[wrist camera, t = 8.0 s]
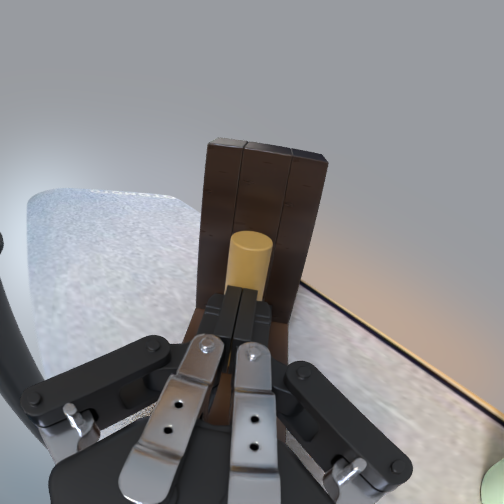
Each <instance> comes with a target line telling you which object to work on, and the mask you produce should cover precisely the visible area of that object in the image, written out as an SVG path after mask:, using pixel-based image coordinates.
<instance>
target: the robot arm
mask: <svg viewBox="0 0 504 504" xmlns="http://www.w3.org/2000/svg"><path fill="white" fill-rule="evenodd" d="M241 293H242V297H241ZM257 294H258V290H254V289H248V288H243V292H242V287H237V286H231V285H227V289H226V292H225V295H223V294H218V293H215V294H214V295H212V296H211V297H210V298H209V299H208V302H207V305H206V308H205V311H204V314H203V316H202V319H201V322H200V325H199V328H198V331H197V334H196V336H195V337H194V338H193V339H192V340H190V341H188V342H186V343H182V344H169V342H168V341H167V340H166V339H165V338H163V337H161V336H157V335H150V336H146V337H144V338H141V339H139V340H137V341H135V342H133V343H130V344H128V345H126V346H124V347H121V348H119V349H117V350H115V351H112V352H110V353H108V354H106V355H103V356H101V357H99V358H97V359H94V360H92V361H90V362H87V363H85V364H83V365H80V366H78V367H76V368H73V369H71V370H69V371H66V372H64V373H62V374H59V375H57V376H54V377H52V378H50V379H47V380H45V381H42V382H40V383H38V384H35V385H33V386H30V387H28V388H27V389H25V390H24V391H23V393H22V395H21V397H20V405H21V408H22V409H23V411H24V412H25V413H26V415H27V416H28V417H29V418H30V420H31V421H32V422H33V423H34V425H35V426H36V427H37V428H38V429H39V431H40V434H41V436H42V438H43V440H44V442H45V444H46V447H47V449H48V451H49V453H50V455H51V457H52V459H53V460H54V462H55V467H54V468H53V469H52V471H51V474H50V477H49V485H48V486H49V493H50V500H51V504H375V503H376V502H377V501H378V500H379V499H380V498H381V497H383V496H385V495H386V494H388V493H390V492H392V491H393V490H395V489H396V488H397V487H398V486H400V485H401V484H403V483H404V482H406V481H407V480H408V479H409V478H410V477H411V475H412V471H413V466H412V462H411V460H410V459H409V458H408V457H407V456H406V455H405V454H404V453H403V452H402V451H401V450H400V449H399V448H398V447H397V446H396V445H394V444H393V443H392V442H391V441H390V440H389V439H388V438H387V437H386V436H385V435H384V434H383V433H382V432H381V431H380V430H379V429H378V428H377V427H376V426H375V425H374V424H372V423H371V422H370V421H369V420H368V419H367V418H366V417H365V416H364V415H363V414H362V413H361V412H360V411H359V410H358V409H357V408H356V407H355V406H354V405H353V404H352V403H351V402H350V401H349V400H348V399H347V398H346V397H345V396H344V395H343V394H342V393H341V392H340V391H339V390H338V389H337V388H336V387H335V386H334V385H333V384H332V383H331V382H330V381H329V380H328V379H327V378H326V377H325V376H324V375H323V374H322V373H321V372H320V371H319V370H318V369H317V368H316V367H315V366H314V365H312V364H311V363H308V362H305V361H296V362H293V363H291V364H290V365H286V364H284V363H281V362H279V361H277V360H276V359H274V358H273V357H272V356H271V354H270V351H269V349H268V341H269V328H270V314H271V309H270V307H269V305H268V303H267V302H263V301H257ZM240 300H241V302H240ZM239 306H240V307H239ZM230 353H231V355H230ZM229 358H230V362H229ZM228 363H229V369H228V374H232V376H231V382H230V384H231V393H230V405H229V417H228V425H212V424H210V423H208V420H209V417H210V414H211V411H212V408H213V404H214V401H215V398H216V395H217V392H218V389H219V385H220V377H221V373H227V368H228ZM155 402H157V403H156V405H155V407H154V409H153V411H152V413H151V416H147V417H143V418H141V419H138V420H136V421H134V422H132V423H131V424H129V425H127V426H125V427H124V428H122V429H120V430H118V431H117V432H115V433H113V434H111V435H109V436H108V437H106V438H104V439H102V440H100V441H98V440H99V438H100V431H101V430H103V429H105V428H107V427H109V426H111V425H113V424H115V423H117V422H119V421H121V420H123V419H125V418H127V417H129V416H131V415H133V414H135V413H136V412H138V411H140V410H142V409H144V408H146V407H148V406H150V405H151V404H153V403H155ZM276 416H277V417H278V419H279V420H280V421H281V422H282V423H283V425H284V426H285V427H286V428H287V429H288V431H289V432H290V433H291V434H292V435H293V437H294V438H295V439H296V440H297V441H298V442H299V444H300V445H301V446H302V447H303V448H304V449H305V450H306V452H307V453H308V454H309V455H310V456H311V457H312V458H313V459H314V461H315V462H316V463H317V464H318V465H319V466H320V467H321V468H322V469H323V470H324V472H325V474H324V476H323V485H324V488H325V489H326V491H327V492H328V494H327V492H326V491H325V490H324V489H323V488H322V487H321V485H320V484H319V483H318V482H317V481H316V479H315V478H314V477H313V476H312V475H311V473H310V472H309V471H308V470H307V469H306V467H305V466H304V465H303V464H302V462H301V461H300V460H299V459H298V457H297V456H296V455H295V454H294V452H293V451H292V450H291V449H290V448H289V447H288V446H287V445H286V444H285V443H283V442H282V441H280V440H279V439H277V426H276ZM97 441H98V442H97Z"/></svg>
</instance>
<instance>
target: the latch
mask: <svg viewBox="0 0 504 504" xmlns="http://www.w3.org/2000/svg"><path fill="white" fill-rule="evenodd" d="M327 168H328V161H327V160H326V159H325V158H324V157H323V155H322V154H318V153H313V152H308V151H303V150H298V149H293V148H292V149H290V148H287V147H281V146H275V145H269V144H262V143H256V142H248V141H242V140H235V139H227V138H217V139H215V140H213V141H211V142H209V143H208V145H207V154H206V164H205V175H204V185H203V198H202V209H201V222H200V236H199V251H198V269H197V290H196V309H195V311H194V314H193V316H192V319H191V322H190V324H189V327H188V329H187V332H186V334H185V337H184V340H183V342H182V343H186V342H188V341H190V340H192V339H193V338H194V337H195V336H196V334H197V331H198V328H199V325H200V322H201V319H202V316H203V314H204V311H205V308H206V305H207V302H208V299H209V298H210V297H211V296H212V295H214V294H215V293H218V294H223V295H224V292H225V283H226V274H227V265H228V257H229V248H230V240H231V236H232V235H233V234H234V233H236V232H240V231H254V232H258V233H262V234H264V235H266V236H268V237H269V238H270V239H271V240H272V242H273V247H272V252H271V257H270V262H269V267H268V272H267V277H266V282H265V287H264V292H263V297H262V301H263V302H267V303H268V305H269V307H270V309H271V314H270V328H269V341H268V349H269V351H270V354H271V356H272V357H273V358H274V359H276V360H277V361H279V362H281V363H284V364H286V365H288V323H289V319H290V316H291V312H292V309H293V305H294V302H295V298H296V294H297V291H298V287H299V283H300V280H301V276H302V272H303V268H304V264H305V261H306V257H307V253H308V249H309V245H310V241H311V237H312V233H313V229H314V225H315V220H316V217H317V212H318V208H319V204H320V200H321V195H322V191H323V186H324V182H325V177H326V172H327ZM228 369H229V366H228V368H227V373H221V377H220V385H219V389H218V392H217V395H216V398H215V401H214V404H213V408H212V411H211V414H210V417H209V420H208V423H210V424H212V425H228V417H229V405H230V393H231V384H230V382H231V376H232V374H228ZM276 426H277V439H279V440H280V441H282V442H283V443H285V442H286V427H285V426H284V425H283V423H282V422H281V421H280V420H279V419H278V417H277V416H276Z"/></svg>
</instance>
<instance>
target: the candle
mask: <svg viewBox="0 0 504 504" xmlns="http://www.w3.org/2000/svg"><path fill="white" fill-rule="evenodd" d="M481 498H482V503H483V504H504V458H503V459H501V460H500V461H499V462H498V463H496V464H495V465H493V466H492V467H491V468H490V469H489V470H488V471H487V472H486V474H485V476H484V478H483V482H482V486H481Z"/></svg>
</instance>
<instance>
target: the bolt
mask: <svg viewBox="0 0 504 504" xmlns="http://www.w3.org/2000/svg"><path fill="white" fill-rule="evenodd" d="M272 247H273V242H272V240H271V239H270V238H269V237H268V236H266V235H264V234H262V233H258V232H254V231H240V232H236V233H234V234H233V235H232V236H231V240H230V248H229V257H228V265H227V274H226V283H225V292H226V289H227V285H231V286H237V287H242V292H243V288H248V289H254V290H258V294H257V301H262V297H263V292H264V287H265V282H266V277H267V272H268V267H269V262H270V257H271V252H272ZM225 292H224V295H225ZM241 297H242V293H241ZM240 302H241V300H240ZM239 307H240V306H239ZM230 355H231V353H230ZM229 362H230V358H229ZM228 366H229V363H228Z"/></svg>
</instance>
